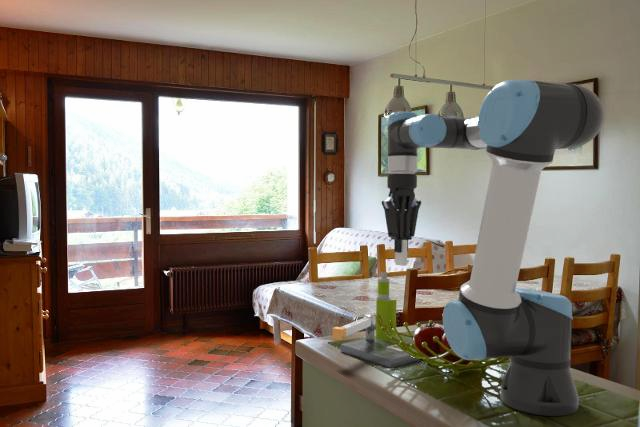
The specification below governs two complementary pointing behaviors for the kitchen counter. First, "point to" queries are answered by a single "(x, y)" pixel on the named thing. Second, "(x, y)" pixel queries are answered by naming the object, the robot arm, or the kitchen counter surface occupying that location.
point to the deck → (377, 351)
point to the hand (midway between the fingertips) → (401, 264)
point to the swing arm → (354, 327)
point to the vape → (385, 308)
